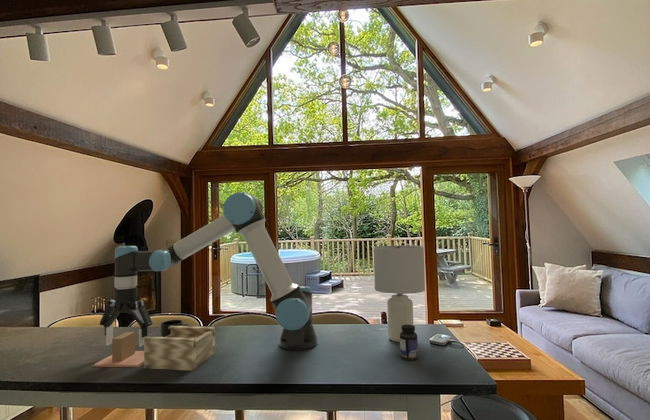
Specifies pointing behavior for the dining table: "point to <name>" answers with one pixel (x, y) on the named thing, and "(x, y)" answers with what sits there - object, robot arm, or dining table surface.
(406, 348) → the pill bottle
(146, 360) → the birch box
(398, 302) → the lamp
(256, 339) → the dining table surface
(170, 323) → the mug
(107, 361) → the cover plate
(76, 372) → the dining table surface
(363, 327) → the dining table surface
